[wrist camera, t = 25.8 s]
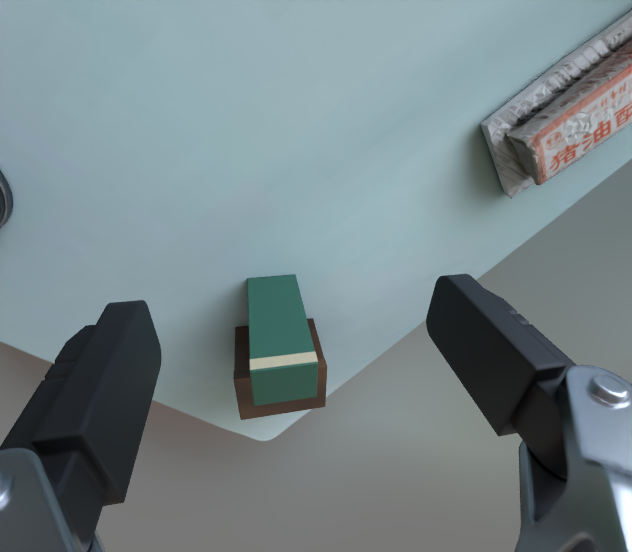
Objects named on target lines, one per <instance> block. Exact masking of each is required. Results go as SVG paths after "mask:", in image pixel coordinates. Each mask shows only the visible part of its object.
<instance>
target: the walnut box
mask: <svg viewBox="0 0 632 552" xmlns="http://www.w3.org/2000/svg"><path fill="white" fill-rule="evenodd" d="M307 322H308V326H309V330H310V334H311V338H312V341H313V345H314V349H315V352H316V356H317V360H318V377H317V397H312V398H305V399H298V400H292V401H285V402H278V403H271V404H264V405H257V406H254V401H253V392H252V384H251V376H250V351H249V326H242V327H235V364H234V385H235V390H236V396H237V401H238V407H239V413H240V418H241V420H244V419H250V418H257V417H263V416H269V415H276V414H282V413H288V412H295V411H301V410H307V409H313V408H320V407H325V399H326V379H327V364H326V361H325V359H324V356H323V352H322V349H321V345H320V342H319V338H318V335H317V331H316V327H315V324H314V320H313V319H307Z"/></svg>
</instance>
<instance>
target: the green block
mask: <svg viewBox="0 0 632 552" xmlns="http://www.w3.org/2000/svg"><path fill="white" fill-rule="evenodd" d="M247 280H248V315H249V351H250V376H251V384H252V392H253V401H254V406H257V405H264V404H271V403H278V402H285V401H292V400H298V399H305V398H312V397H317V377H318V360H317V356H316V352H315V349H314V345H313V341H312V338H311V334H310V330H309V326H308V322H307V318H306V314H305V310H304V306H303V302H302V299H301V295H300V291H299V287H298V283H297V279H296V275H284V276H272V277H259V278H248V279H247Z"/></svg>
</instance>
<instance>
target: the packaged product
mask: <svg viewBox="0 0 632 552" xmlns="http://www.w3.org/2000/svg"><path fill="white" fill-rule="evenodd" d="M631 123H632V10H631V11H630V12H628V13H627V14H626V15H624V16H623V17H622V18H620V19H619V20H617V21H616V22H615V23H613V24H612V25H610V26H609V27H607V28H606V29H605V30H603V31H602V32H600V33H599V34H597V35H596V36H595V37H593V38H592V39H590V40H589V41H587V42H586V43H584V44H583V45H582V46H580V47H579V48H577V49H576V50H574V51H573V52H572V53H570V54H569V55H567V56H566V57H564V58H563V59H562V60H560V61H559V62H558V63H556V64H555V65H554V66H553V67H551V68H550V69H549V70H548V71H547V72H545V73H544V74H543V75H542V76H540V77H539V78H538V79H537V80H536V81H534V82H533V83H532V84H530V85H529V86H528V87H527V88H525V89H524V90H523V91H522V92H520V93H519V94H518V95H516V96H515V97H514V98H513V99H511V100H510V101H509V102H507V103H506V104H505V105H504V106H502V107H501V108H500V109H499V110H497V111H496V112H495V113H493V114H492V115H491V116H490V117H488V118H487V119H486V120H485V121H483V122H482V123H481V127H482V130H483V133H484V135H485V138H486V141H487V144H488V147H489V150H490V152H491V155H492V158H493V161H494V164H495V167H496V170H497V173H498V176H499V179H500V182H501V185H502V187H503V189H504V192H505V194H506V195H507V196H508V197H510V198H511V199H512V198H513V197H514V196H515V195H516V194H518V193H519V192H521V191H522V190H523V189H526V188H528V187H529V186H530V185H532V184H533V183H534V182H535V184H536V185H541V184H542V183H544V182H545V181H547V180H548V179H550V178H552V177H553V176H555V175H556V174H558V173H559V172H561V171H562V170H564V169H565V168H566V167H568V166H569V165H571V164H572V163H574V162H576V161H577V160H578V159H580V158H581V157H583V156H584V155H586V154H587V153H588V152H590V151H591V150H593V149H594V148H596V147H597V146H599V145H600V144H602V143H603V142H604V141H606V140H607V139H609V138H610V137H612V136H613V135H615V134H616V133H618V132H619V131H621V130H622V129H624V128H625V127H627V126H628V125H630V124H631Z"/></svg>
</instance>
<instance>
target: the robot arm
mask: <svg viewBox="0 0 632 552" xmlns="http://www.w3.org/2000/svg"><path fill="white" fill-rule="evenodd" d="M12 208H13V198H12V193H11V190H10V187H9V184H8V182H7V181H6V179H5V177H4V175H3V174H2V172H1V171H0V227H2V226H3V225H4V224H5V223H6V222H7V220H8V219H9V217H10V215H11V212H12ZM426 324H427V330H428V333H429V336H430V337H431V339H432V340H433V342H434V343H435V345H436V346H437V348H438V349H439V351H440V352H441V354H442V355H443V356H444V358H445V359H446V361H447V362H448V364H449V365H450V367H451V368H452V370H453V371H454V372H455V374H456V375H457V377H458V378H459V380H460V381H461V383H462V384H463V386H464V387H465V388H466V390H467V391H468V393H469V394H470V396H471V397H472V398H473V400H474V401H475V403H476V404H477V406H478V407H479V409H480V410H481V412H482V413H483V415H484V416H485V417H486V419H487V420H488V422H489V423H490V425H491V426H492V428H493V429H494V431H495V432H496V433H497V435H498V436H503V435H508V434H513V433H518V434H519V435H520V437H521V438H522V439H523V441H522V442H521V444H520V447H519V474H520V507H521V508H520V509H521V528H520V535H519V539H518V542H517V545H516V548H515V552H632V384H631V383H630V382H628V381H627V380H625V379H623V378H622V377H620V376H618V375H616V374H614V373H612V372H610V371H608V370H605V369H602V368H599V367H595V366H590V365H576V364H575V363H574V362H573V361H572V360H571V359H569V358H568V357H567V356H566V355H565V354H564V353H563V352H562V351H561V350H559V349H558V348H557V347H556V346H555V345H554V344H553V343H552V342H551V341H549V340H548V339H547V338H546V337H545V336H544V335H543V334H542V333H541V332H539V331H538V330H537V329H536V328H535V327H534V326H533V325H529V323H528V321H527V320H526V319H525V318H524V317H523V316H522V315H520V314H517V311H516V310H515V309H514V308H513V307H512V306H511V305H509V304H508V303H507V302H506V301H505V300H504V299H502V298H501V297H499V296H497V295H495V294H493V293H491V292H490V291H488V290H486V289H484V288H483V287H482V286H481V285H480V284H479V283H478V282H477V281H476V280H475V279H473V278H472V277H471V276H470V275H468V274H459V275H447V276H440V277H439V278H438V280H437V281H436V285H435V288H434V292H433V296H432V299H431V303H430V306H429V310H428V314H427V318H426ZM160 366H161V348H160V343H159V340H158V337H157V334H156V331H155V328H154V324H153V321H152V318H151V315H150V312H149V309H148V306H147V304H146V302H145V301H143V300H139V301H127V302H115V303H109V304H108V305H107V306H106V307H105V309H104V311H103V313H102V315H101V316H100V318H99V320H98V322H97V323H96V325H89V326H85V327H84V328H83V329H81V330H80V331H79V332H78V333H77V334H75V335H74V336H73V337H72V338H71V339H69V340H68V341H67V342H66V343H65V345H64V347H63V348H62V350H61V351H60V353H59V355H58V356H57V358H56V359H55V364H52V366H51V367H50V369H49V370H48V372H47V374H46V375H45V380H44V381H41V383H40V385H39V386H38V388H37V389H36V391H35V392H34V394H33V396H32V398H31V399H30V400H29V402H28V404H27V405H26V407H25V408H24V410H23V411H22V413H21V415H20V416H19V418H18V419H17V421H16V423H15V424H14V426H13V427H12V429H11V430H10V432H9V434H8V435H7V437H6V438H5V440H4V442H3V443H2V445H1V446H0V552H106V549H105V547H104V545H103V542H102V540H101V538H100V536H99V534H98V532H97V530H96V525H97V522H98V520H99V516H100V513H101V510H102V507H103V506H106V505H112V504H118V503H123V502H124V500H125V497H126V493H127V489H128V486H129V482H130V478H131V475H132V471H133V467H134V463H135V459H136V456H137V452H138V449H139V445H140V441H141V437H142V433H143V430H144V426H145V423H146V419H147V415H148V412H149V408H150V404H151V400H152V397H153V393H154V389H155V386H156V382H157V378H158V375H159V371H160Z"/></svg>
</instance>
